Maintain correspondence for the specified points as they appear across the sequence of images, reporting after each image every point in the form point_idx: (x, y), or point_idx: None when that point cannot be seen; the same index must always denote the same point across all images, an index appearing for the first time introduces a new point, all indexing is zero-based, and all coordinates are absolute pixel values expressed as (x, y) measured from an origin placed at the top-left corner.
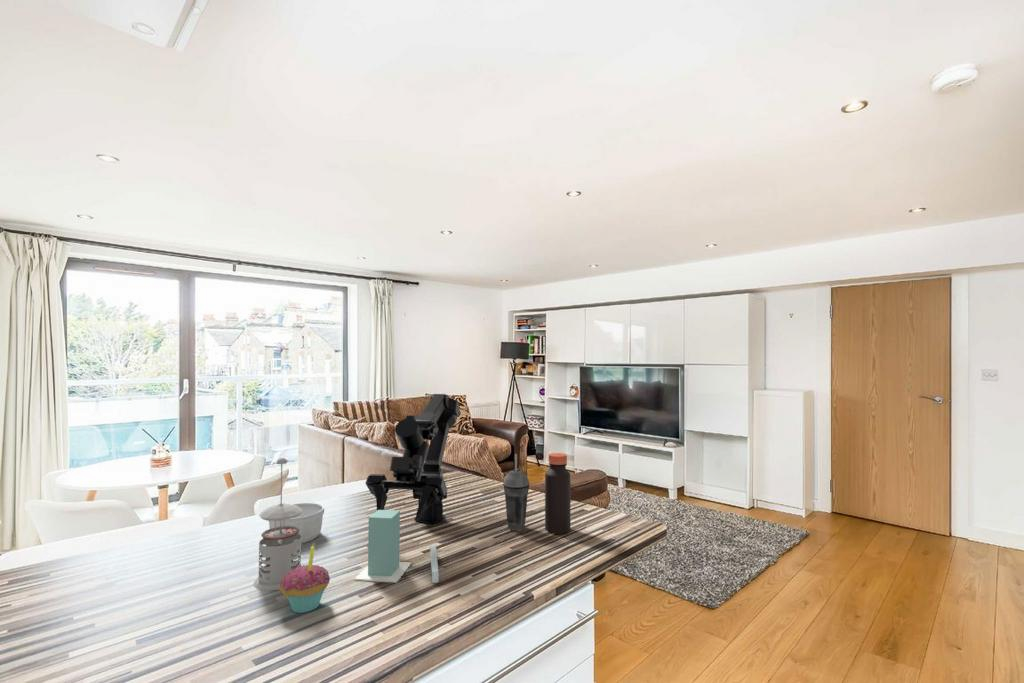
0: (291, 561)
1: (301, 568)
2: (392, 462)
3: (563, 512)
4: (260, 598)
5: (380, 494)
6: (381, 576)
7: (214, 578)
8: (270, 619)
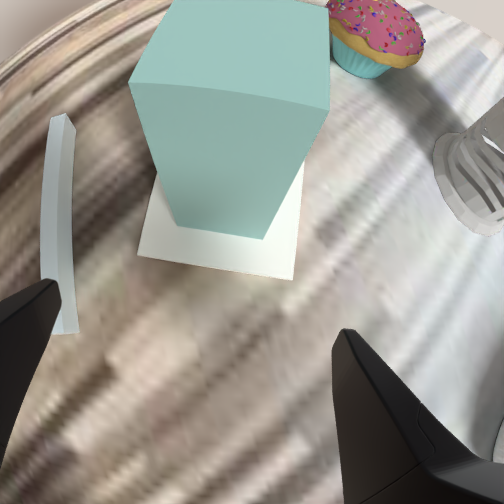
0: (494, 214)
1: (395, 7)
2: None
3: None
4: (451, 107)
5: (434, 465)
6: None
7: None
8: None
